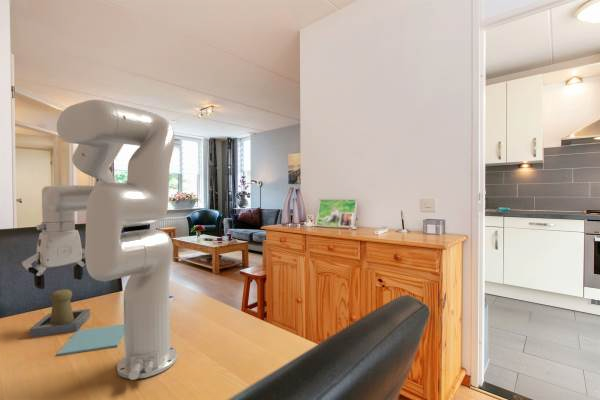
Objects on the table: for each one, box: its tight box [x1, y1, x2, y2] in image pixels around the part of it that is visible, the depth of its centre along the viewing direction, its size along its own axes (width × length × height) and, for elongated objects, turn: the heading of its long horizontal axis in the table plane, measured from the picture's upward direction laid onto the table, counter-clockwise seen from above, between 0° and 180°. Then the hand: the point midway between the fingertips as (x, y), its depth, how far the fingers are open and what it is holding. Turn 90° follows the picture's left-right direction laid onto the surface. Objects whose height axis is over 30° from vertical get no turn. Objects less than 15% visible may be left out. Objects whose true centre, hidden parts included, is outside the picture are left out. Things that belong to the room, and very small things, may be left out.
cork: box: [49, 288, 74, 324], centre depth 89 cm, size 6×6×11 cm
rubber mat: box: [57, 323, 124, 356], centre depth 81 cm, size 13×13×1 cm
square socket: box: [29, 308, 91, 339], centre depth 89 cm, size 11×11×2 cm
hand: (60, 283), depth 89 cm, fingers open, 9 cm apart
